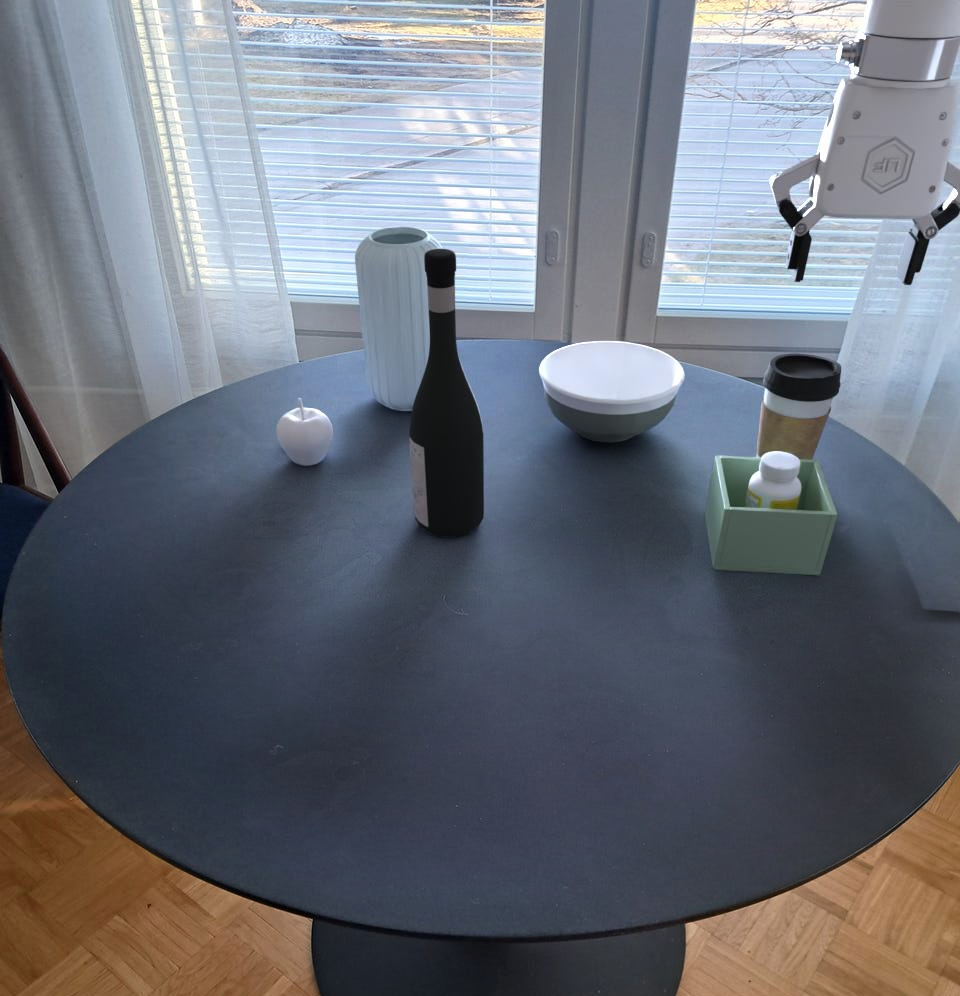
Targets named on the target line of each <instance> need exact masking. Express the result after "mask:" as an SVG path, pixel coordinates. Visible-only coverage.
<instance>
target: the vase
mask: <svg viewBox="0 0 960 996" xmlns="http://www.w3.org/2000/svg"><path fill="white" fill-rule="evenodd" d="M432 249H443V246H442V245H441V243H440V241H438V239H437V238H436V237H434V236H433V235H431V234H430V233H429V232H428V231H426V230H424V229H423V228H419V227H416V226H408V225H407V226H405V225H404V226H403V225H402V226H401V225H399V226H398V225H397V226H387V227H381V228H379V229H376V230H374V231H371V232H370V233H369V234H368V235H367V236H366V237H364V238H363V240H361V242H360V243H359V244H358V246H357V248H356V251H355V254H354V263H355V264H354V265H355V275H356V282H357V283H356V284H357V294H358V305H359V306H358V307H359V317H360V326H361V337H362V349H363V358H364V359H363V360H364V369H365V379H366V386H367V390H368V392H369V393H370V395H371V396H372V398H374V400H375V401H376V402H378V403H379V404H382V405H383V406H384V407H386V408H388V409H391V410H395V411H400V412H412V408H413V404H414V400H415V397H416V395H417V392H418V389H419V386H420V383H421V381H422V378H423V375H424V372H425V368H426V365H427V361H428V356H429V348H430V329H429V308H428V290H427V276H426V272H425V265H424V255H425V253H426V252H427V251H429V250H432Z"/></svg>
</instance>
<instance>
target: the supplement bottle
mask: <svg viewBox="0 0 960 996" xmlns="http://www.w3.org/2000/svg"><path fill="white" fill-rule="evenodd" d="M800 464H801V463H800V460H799V459H798V458H797V457H796V456H794V455H792V454H790V453H786V452H780V451H773V452H768V453H766V454H764V455H763V456H762V458H761V462H760V466H759V471H758V472H756V473H755V474H754V475H753V476H752V477H751V479H750V482H749V486H748V491H747V495H746V500H745V505H744V507H746V508H766V509H787V510H796V509H797V505H798V501H799V497H800V493H801V482H800V481H799V479H798V478H797V476H798V474H799V469H800Z"/></svg>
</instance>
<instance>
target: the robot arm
mask: <svg viewBox="0 0 960 996" xmlns="http://www.w3.org/2000/svg"><path fill="white" fill-rule="evenodd" d="M959 49H960V0H867V3H866V9H865V12H864V17H863V22H862V25H861V30H860V31H858V33H857V36H856V37H855V39H854V40H850V41H849V42H840V44H839V46H838V49H837V53H836V62H837V63H839V64H840V63H845V65H848V66H849V67H850V70H851V74H850V75H846V76H844V77H843V78H841V82H840V84H839V86H838V88H837V90H836V93H835V96H834V99H833V101H832V105H831V107H830V110H829V113H828V116H827V120H826V123H825V125H824V129H823V131H822V135H821V138H820V141H819V145H818V147H817V148H818V149H817V152H816V154H814V155H813V156H810V157H809V158H807V159H804V160H802V161H800V162H798V163H796V164H793V165H792V166H790V167H788V168H786V169H784V170H782V171H780V172H778V173H776V174H773V175H772V176H771V177H770V179H769V184H770V188H771V191H772V195H773V199H774V201H775V205H776V208H777V211H778V212H779V214H780V216H781V217H782V218H783V219H784V221H785V222H786V224H787V225H788V227H789V228H790V229H791V232H790V238H789V243H788V248H787V253H786V258H785V265H784V266H785V269H786V270H789V274H790V276H791V278H792V281H793V283H801V282H802V281H803V280H804V276H805V272H806V267H807V264H808V259H809V254H810V250H811V245H812V241H813V239H812V236H811V234H810V232H811V229H812V228H814V226H815V225H817V223H819V221H821V220H822V219H823V218H824V217H829V218H830V217H831V218H839V219H841V218H842V219H843V218H844V219H879V220H880V219H882V220H883V219H884V220H912V222H913V226H912V228H909V230H908V231H907V232H906V234H905V236H904V237H905V238H904V241H903V243H902V248H901V252H900V254H899V259H898V263H897V266H896V269H895V275H896V277H897V278H898V280H899V281H900V282H901V283H902V284H903V285H904V286H911V285H913V282H914V279H915V278H914V277H915V274H916V273H918V274H919V273H920V272H921V270H922V267H923V264H924V261H925V258H926V254H927V251H928V248H929V244H930V241H931V240H932V239H934V238H936V237H937V235H938V233H939V231H941V230H942V229H943V228H945V227H946V226H947V225H949V224H950V223H951V222H952V221H954V220H955V219H957V217H959V215H960V168H958V167H957V166H955V165H954V164H953V163H950V161H949V156H950V152H951V147H952V141H953V137H954V133H955V132H954V130H955V126H956V121H957V114H958V107H959V99H960V83H959V82H958V81H956V80H953V79H951V76H952V73H953V70H954V67H955V63H956V60H957V56H958V53H959ZM809 179H810V180H809ZM807 180H809V186H808V196H809V198H808V199H807V200H806V201H805V202H804V203H803V204H802V205H801V206H800V207H799V208H797V207H796V206H795V204H794V203H793V201H792V198H791V194H790V191H791V189H792V188H793V187H794V186H796V185H798V184H800V183H802V182H805V181H807ZM943 182H945V183H947V184H948V185H950V186H951V187H952V188H953V190H952V192H951V194H949V197H948V198H947V199H946V200H945V201H943V202H942V203H941V204H939V205H938V206H937V203H938V200H939V198H940V194H941V190H942V187H943Z"/></svg>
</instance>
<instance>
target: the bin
mask: <svg viewBox="0 0 960 996" xmlns="http://www.w3.org/2000/svg"><path fill="white" fill-rule="evenodd" d="M799 460H800V463H801V464H800V469H799V474H798V476H797V478H798V479H799V481H800V482H801V493H800V497H799V501H798V505H797V509H796V510H787V509H766V508H746V507H744V505H745V500H746V495H747V491H748V486H749V482H750V479H751V477H752V476H753V475H754V474H755V473H756V472H758V471H759V466H760V462H761V457H756V456H735V455H714V459H713V465H712V470H711V476H710V480H709V481H710V482H709V487H708V491H707V498H706V502H705V503H706V504H705V509H704V517H705V518H704V519H705V526H706V532H707V538H708V539H707V540H708V546H709V552H710V558H711V559H710V560H711V566H712V570H715V571H716V570H717V571H732V572H751V573H767V574H769V573H771V574H788V575H805V576H821V573H822V570H823V566H824V563H825V559H826V556H827V554H828V553H827V552H828V550H829V545H830V543H831V539H832V535H833V532H834V530H835V527H836V526H835V525H836V523H837V519H838V511H837V509H836V506H835V502H834V501H833V499H832V495H831V492H830V490H829V487H828V484H827V481H826V478H825V475H824V472H823V470H822V467H821V463H820V461H819V460H818V459H812V460H806V459H799Z"/></svg>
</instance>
